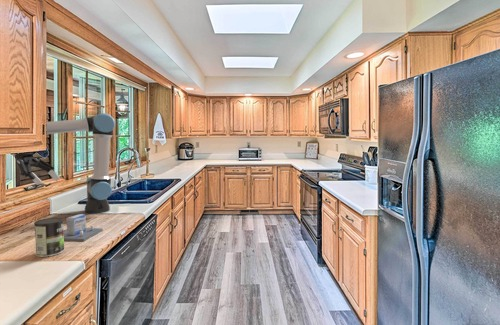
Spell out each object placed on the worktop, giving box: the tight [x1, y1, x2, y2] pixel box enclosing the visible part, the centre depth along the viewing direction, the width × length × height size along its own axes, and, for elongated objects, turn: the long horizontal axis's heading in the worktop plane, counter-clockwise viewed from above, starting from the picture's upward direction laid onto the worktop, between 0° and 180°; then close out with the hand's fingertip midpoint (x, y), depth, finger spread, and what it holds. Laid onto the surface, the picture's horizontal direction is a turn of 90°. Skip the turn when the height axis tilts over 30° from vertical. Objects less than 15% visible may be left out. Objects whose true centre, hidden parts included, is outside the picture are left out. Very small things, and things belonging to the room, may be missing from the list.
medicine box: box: [65, 213, 87, 235], centre depth 148 cm, size 8×4×9 cm, turn 169°
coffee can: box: [33, 217, 65, 258], centre depth 125 cm, size 10×10×14 cm
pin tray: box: [63, 225, 104, 242], centre depth 148 cm, size 16×18×4 cm
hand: (49, 181), depth 158 cm, fingers open, 13 cm apart
